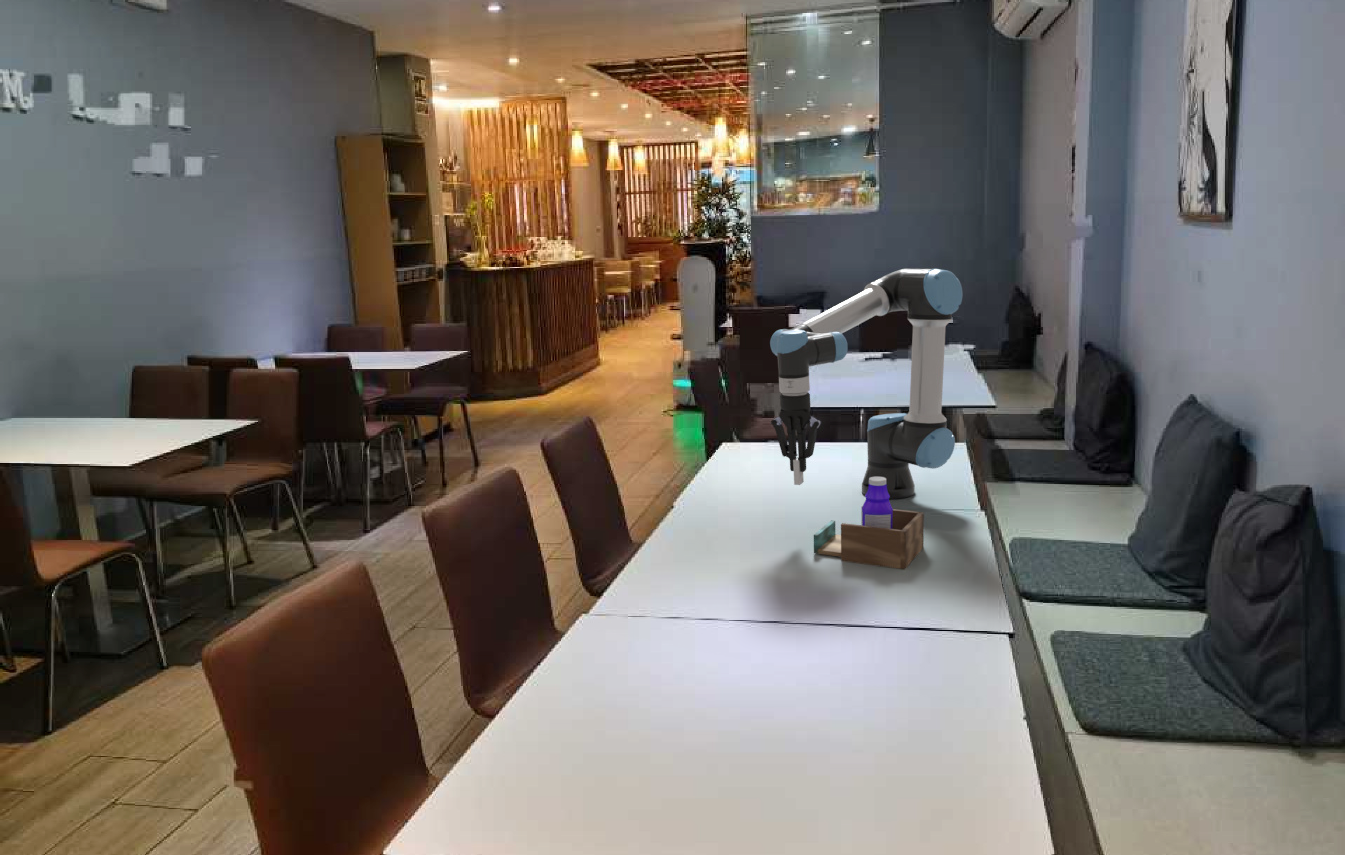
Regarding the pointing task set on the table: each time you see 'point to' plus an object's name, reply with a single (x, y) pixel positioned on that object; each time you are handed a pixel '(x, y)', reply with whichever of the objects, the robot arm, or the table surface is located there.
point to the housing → (884, 541)
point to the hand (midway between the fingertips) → (798, 483)
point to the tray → (827, 541)
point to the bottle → (877, 505)
